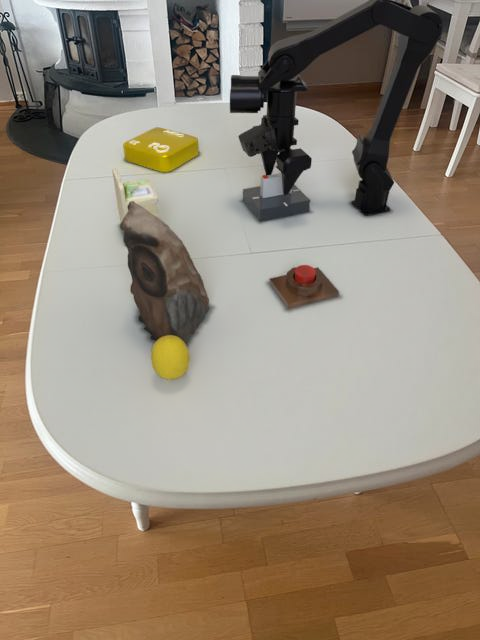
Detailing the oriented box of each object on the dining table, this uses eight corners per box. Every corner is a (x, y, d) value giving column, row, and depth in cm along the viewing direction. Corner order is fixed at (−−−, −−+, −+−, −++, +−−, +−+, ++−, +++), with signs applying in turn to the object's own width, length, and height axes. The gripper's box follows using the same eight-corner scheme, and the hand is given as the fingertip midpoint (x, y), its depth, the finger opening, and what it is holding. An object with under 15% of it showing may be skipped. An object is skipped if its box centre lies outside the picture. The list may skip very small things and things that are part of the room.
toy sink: (163, 239, 107) (157, 180, 98) (128, 245, 105) (118, 186, 97) (154, 219, 113) (147, 162, 104) (120, 225, 111) (110, 167, 103)
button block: (317, 272, 99) (319, 259, 97) (338, 296, 93) (340, 283, 91) (269, 283, 96) (269, 270, 94) (287, 309, 90) (288, 296, 88)
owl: (180, 355, 82) (170, 248, 68) (111, 335, 85) (89, 229, 72) (213, 308, 90) (209, 205, 77) (149, 291, 94) (135, 190, 81)
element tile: (201, 153, 139) (201, 135, 136) (166, 174, 130) (165, 155, 127) (158, 141, 145) (156, 124, 142) (121, 160, 136) (119, 142, 133)
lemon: (154, 364, 80) (149, 325, 75) (190, 362, 81) (187, 323, 75) (153, 391, 76) (147, 352, 71) (191, 389, 76) (187, 350, 71)
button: (308, 271, 95) (309, 263, 93) (318, 282, 92) (319, 274, 91) (291, 275, 94) (291, 267, 92) (299, 286, 91) (300, 278, 90)
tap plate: (288, 191, 123) (289, 178, 121) (310, 213, 115) (311, 200, 113) (241, 199, 120) (241, 187, 118) (260, 223, 112) (261, 210, 110)
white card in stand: (288, 190, 117) (290, 170, 114) (291, 193, 116) (293, 173, 113) (260, 195, 115) (260, 175, 112) (263, 198, 114) (263, 178, 111)
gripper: (226, 102, 108) (227, 172, 118) (262, 135, 95) (259, 211, 105) (275, 96, 111) (272, 165, 122) (316, 127, 98) (308, 201, 109)
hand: (276, 184), depth 114 cm, fingers open, 9 cm apart
